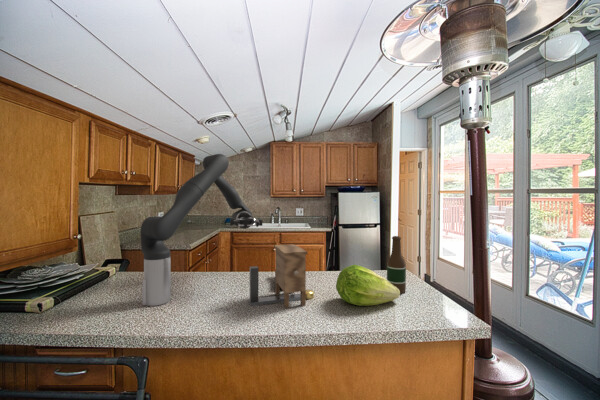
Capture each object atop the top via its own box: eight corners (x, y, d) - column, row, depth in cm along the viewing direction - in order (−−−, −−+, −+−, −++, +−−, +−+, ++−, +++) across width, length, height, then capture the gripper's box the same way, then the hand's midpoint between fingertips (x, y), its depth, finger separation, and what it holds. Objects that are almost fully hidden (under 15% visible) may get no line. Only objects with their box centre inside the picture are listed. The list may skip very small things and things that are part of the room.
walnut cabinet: (284, 309, 100) (284, 253, 99) (274, 293, 116) (274, 245, 116) (307, 306, 102) (308, 251, 102) (294, 291, 119) (294, 244, 119)
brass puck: (303, 300, 109) (303, 294, 109) (300, 296, 114) (300, 290, 114) (315, 299, 110) (315, 293, 110) (311, 294, 115) (311, 289, 115)
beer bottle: (386, 292, 117) (386, 237, 117) (387, 287, 125) (387, 234, 124) (405, 295, 114) (405, 238, 114) (405, 289, 122) (406, 235, 121)
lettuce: (383, 305, 116) (397, 328, 100) (330, 286, 114) (335, 306, 98) (397, 274, 114) (413, 292, 98) (343, 254, 112) (351, 269, 97)
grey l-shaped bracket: (250, 305, 103) (250, 268, 103) (249, 302, 107) (249, 266, 107) (303, 299, 109) (303, 264, 109) (300, 296, 113) (300, 262, 113)
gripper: (229, 211, 130) (230, 215, 115) (259, 212, 134) (264, 215, 119) (229, 227, 131) (230, 232, 115) (258, 227, 135) (263, 232, 119)
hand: (247, 224), depth 117 cm, fingers open, 8 cm apart
